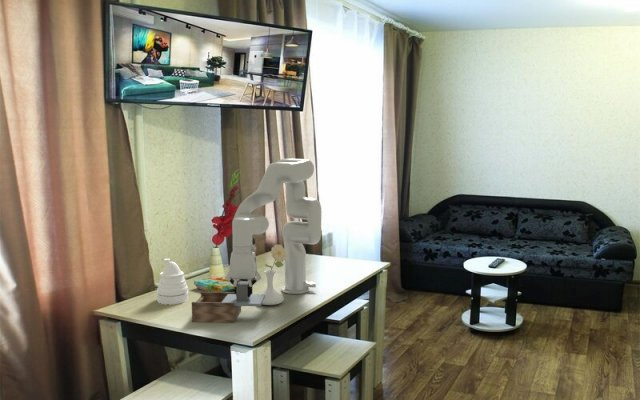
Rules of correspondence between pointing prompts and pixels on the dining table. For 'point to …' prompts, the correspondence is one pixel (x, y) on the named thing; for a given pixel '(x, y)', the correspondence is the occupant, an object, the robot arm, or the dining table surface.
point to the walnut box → (214, 308)
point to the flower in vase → (270, 293)
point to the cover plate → (249, 303)
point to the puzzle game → (214, 284)
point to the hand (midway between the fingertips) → (243, 295)
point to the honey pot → (172, 285)
